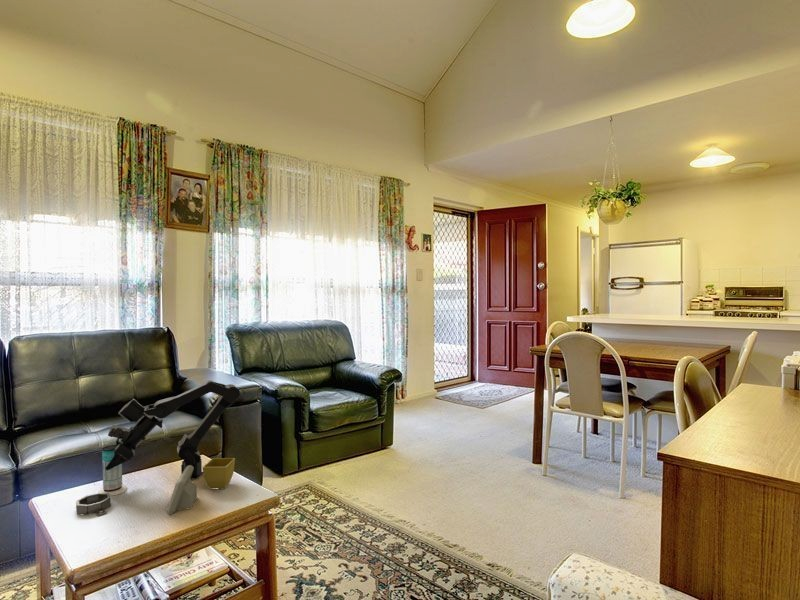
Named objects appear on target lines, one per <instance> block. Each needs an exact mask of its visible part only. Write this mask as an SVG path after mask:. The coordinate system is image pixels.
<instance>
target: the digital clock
mask: <svg viewBox="0 0 800 600" xmlns="http://www.w3.org/2000/svg"><path fill="white" fill-rule="evenodd" d="M193 470H194V467H193V466H191V465H189V466H187V467H186V468H185V470H184V471H183V473H182V474H181V473H180V476H179V478H178V479H177V480H176V483H175V486H174V488H173V491H172V493H171V496H170V499H169V502H168V506H167V508H166V510H165V511H166V513H167V514H168V515H172V514H175V512H176V511H180V510H179V509H183V510H188V509H187V508H191V509H192V508H193V505H194V503H195V501H196V500H197V498H198V489H197V488H198V486H197V484H196V483H194V482H193V481H192V479H190V478H191V475H192V472H193ZM196 497H197V498H196ZM195 499H196V500H195Z"/></svg>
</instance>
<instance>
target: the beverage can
mask: <svg viewBox="0 0 800 600" xmlns="http://www.w3.org/2000/svg"><path fill="white" fill-rule="evenodd" d="M117 446H118V445H116V444H113V445H107V446H105V447H103V448H101V450H102V451H101V458H102V460H101V462H102V486H103V487H102V488H103V489H104V491H106V492H111V491H116V490H118V489H120V488H121V487H122V484H123V463H122V464H120V465H118V466H116V467H114V468H112V469H110V470H106V469H105V468H106V466H107V465H108V464H109V462H110V461H111V459H112V458H113V457H114V450H115V448H116V447H117Z"/></svg>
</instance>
